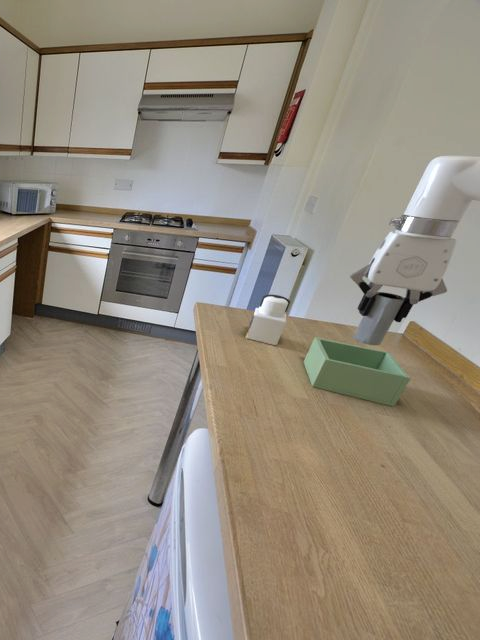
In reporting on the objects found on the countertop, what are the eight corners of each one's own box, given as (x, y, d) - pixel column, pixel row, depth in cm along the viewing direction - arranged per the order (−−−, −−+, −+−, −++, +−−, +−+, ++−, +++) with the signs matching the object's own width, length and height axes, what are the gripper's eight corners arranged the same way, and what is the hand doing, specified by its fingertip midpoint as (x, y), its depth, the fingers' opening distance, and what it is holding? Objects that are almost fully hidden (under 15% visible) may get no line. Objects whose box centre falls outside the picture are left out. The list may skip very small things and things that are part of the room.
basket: (375, 378, 94) (389, 352, 91) (394, 406, 84) (411, 378, 81) (303, 362, 100) (314, 337, 97) (312, 386, 90) (325, 359, 87)
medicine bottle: (247, 330, 117) (262, 290, 112) (277, 337, 113) (293, 296, 108) (245, 338, 112) (260, 297, 107) (276, 346, 108) (294, 303, 103)
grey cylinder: (347, 338, 88) (370, 292, 84) (359, 335, 90) (382, 291, 86) (373, 347, 85) (398, 300, 80) (384, 344, 86) (410, 298, 82)
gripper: (372, 224, 78) (331, 313, 86) (500, 237, 70) (441, 333, 78) (362, 219, 84) (324, 303, 92) (479, 231, 76) (426, 321, 84)
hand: (379, 316), depth 85 cm, fingers closed on grey cylinder, 4 cm apart
